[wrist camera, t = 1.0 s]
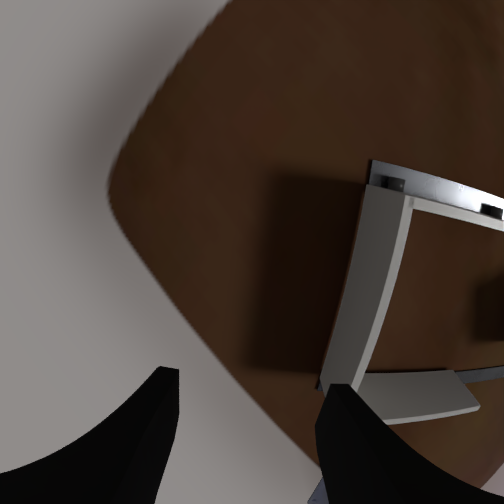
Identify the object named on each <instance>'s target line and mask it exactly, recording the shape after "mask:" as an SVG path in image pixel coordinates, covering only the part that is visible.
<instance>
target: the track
mask: <svg viewBox="0 0 504 504" xmlns="http://www.w3.org/2000/svg"><path fill="white" fill-rule="evenodd" d="M389 176H391V177H396V178H400V179H404V180H406V181H405V187H404V193H409V194H413V195H417V196H421V197H425V198H429V199H433V200H437V201H441V202H444V203H448V204H452V205H456V206H459V207H463V208H466V209H470V210H473V211H477V212H480V213H483V214H487V215H490V213H491V208H492V206H496V207H499V208H502V209H504V199H502V198H499V197H496V196H494V195H491V194H488V193H485V192H482V191H480V190H477V189H474V188H471V187H468V186H465V185H462V184H459V183H456V182H452V181H449V180H446V179H443V178H439V177H436V176H433V175H429V174H426V173H422V172H419V171H415V170H411V169H408V168H404V167H400V166H396V165H392V164H388V163H384V162H380V161H376V160H372V162H371V169H370V175H369V181H368V185H373V186H378V187H382V188H388V182H389ZM502 219H503V220H504V211H503V216H502ZM454 372H455V373H456V374H457V376H458V377H459V378H460V379H461V381H462V382H463V383H472V382H478V381H485V380H491V379H497V378H502V377H504V365H503V366H496V367H489V368H481V369H472V370H463V371H454ZM317 391H323V388H322V385H321V381H320V382H319V385H318V388H317Z"/></svg>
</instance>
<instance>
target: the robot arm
mask: <svg viewBox="0 0 504 504" xmlns="http://www.w3.org/2000/svg"><path fill="white" fill-rule="evenodd" d="M178 418H179V369H174V368H168V367H162V366H160V367H158V368H156V370H155V371H154V372H153V373H152V374H151V376H149V378H148V379H147V380H146V381H145V382H144V383H143V384H142V385H141V386H140V387H139V388H138V389H137V390H136V391H135V392H134V393H133V394H132V396H130V397H129V398H128V399H127V400H126V401H125V402H124V403H123V404H122V405H121V406H120V407H119V408H118V409H116V410H115V411H114V412H113V413H112V414H110V415H109V416H108V417H107V418H106V419H104V420H103V421H102V422H101V423H99V424H98V425H97V426H96V427H94V428H93V429H92V430H90V431H89V432H87V433H86V434H84V435H83V436H81V437H80V438H78V439H77V440H75V441H74V442H72V443H70V444H69V445H67V446H65V447H63V448H62V449H60V450H58V451H56V452H54V453H52V454H51V455H49V456H46V457H44V458H42V459H40V460H37V461H35V462H32V463H30V464H27V465H25V466H22V467H20V468H17V469H14V470H11V471H8V472H4V473H0V504H154V503H155V499H156V495H157V492H158V489H159V486H160V483H161V479H162V476H163V473H164V470H165V467H166V464H167V461H168V458H169V455H170V452H171V448H172V445H173V442H174V439H175V433H176V428H177V422H178ZM315 434H316V446H317V453H318V458H319V462H320V467H321V471H322V475H323V477H322V479H321V480H320V482H319V484H318V486H317V487H316V489H315V490H314V492H313V494H312V495H311V497H310V498H309V500H308V504H504V497H503V496H499V495H496V494H492V493H489V492H487V491H484V490H481V489H479V488H477V487H474V486H472V485H470V484H467V483H465V482H463V481H461V480H459V479H457V478H456V477H454V476H452V475H450V474H448V473H447V472H445V471H443V470H442V469H440V468H439V467H437V466H435V465H434V464H432V463H431V462H430V461H428V460H427V459H426V458H424V457H423V456H421V455H420V454H419V453H417V452H416V451H415V450H414V449H412V448H411V447H410V446H409V445H408V444H407V443H405V442H404V441H403V440H402V439H401V438H400V437H399V436H398V435H397V434H396V433H394V432H393V431H392V430H391V429H390V428H389V427H388V426H387V425H386V424H385V423H384V422H383V421H382V420H381V419H380V418H379V417H378V415H377V414H376V413H375V412H374V411H373V410H372V409H371V408H370V407H369V406H368V405H367V404H366V403H365V401H364V400H363V399H362V398H361V397H360V396H359V395H358V394H357V393H356V392H355V390H354V389H353V388H352V387H351V386H350V385H349V384H332V383H330V386H329V389H328V392H327V395H326V397H325V400H324V403H323V405H322V408H321V411H320V413H319V416H318V418H317V421H316V424H315Z"/></svg>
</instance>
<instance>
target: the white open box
mask: <svg viewBox="0 0 504 504" xmlns="http://www.w3.org/2000/svg"><path fill="white" fill-rule="evenodd" d="M405 181H406V180H404V179H400V178H396V177H391V176H389V182H388V188H387V189H386V188H382V187H377V186H373V185H368V184H366V190H365V196H364V202H363V207H362V212H361V218H360V223H359V228H358V233H357V238H356V242H355V247H354V252H353V256H352V261H351V265H350V269H349V274H348V278H347V282H346V286H345V290H344V294H343V298H342V302H341V306H340V310H339V313H338V317H337V321H336V324H335V328H334V331H333V335H332V339H331V342H330V345H329V349H328V352H327V355H326V359H325V362H324V365H323V368H322V372H321V375H320V381H321V385H322V388H323V392H324V395H325V397H326V395H327V392H328V389H329V386H330V383H332V384H349V385H350V386H351V387H352V388H353V389H354V390H355V392H356V393H357V394H358V395H359V396H360V397H361V398H362V399H363V400H364V401H365V403H366V404H367V405H368V406H369V407H370V408H371V409H372V410H373V411H374V412H375V413H376V414H377V415H378V417H379V418H380V419H381V420H382V421H383V422H384V423H385V424H386V425H388V424H398V423H407V422H415V421H422V420H429V419H436V418H442V417H447V416H453V415H458V414H463V413H468V412H472V411H477V410H478V409H479V407H480V406H481V405H480V404H479V403H478V401H477V400H476V399H475V397H474V396H473V395H472V394H471V392H470V391H469V390H468V388H467V387H466V386H465V385H464V383H463V382H462V381H461V379H460V378H459V377H458V376H457V374H456V373H455V372H454V371H453V370H444V371H429V372H409V373H365V371H366V368H367V366H368V363H369V360H370V358H371V355H372V352H373V350H374V347H375V344H376V341H377V338H378V336H379V333H380V330H381V327H382V324H383V321H384V318H385V315H386V311H387V308H388V305H389V302H390V298H391V295H392V292H393V288H394V285H395V281H396V278H397V274H398V270H399V266H400V263H401V259H402V255H403V251H404V247H405V242H406V238H407V234H408V229H409V225H410V220H411V215H412V210H413V208H414V209H418V210H422V211H427V212H431V213H435V214H440V215H444V216H448V217H452V218H456V219H460V220H464V221H468V222H472V223H475V224H479V225H483V226H486V227H490V228H494V229H497V230H501V231H504V220H502V216H503V211H504V209H502V208H499V207H496V206H492V208H491V213H490V215H486V214H483V213H480V212H476V211H473V210H469V209H466V208H462V207H459V206H455V205H452V204H448V203H444V202H440V201H437V200H433V199H429V198H425V197H421V196H417V195H413V194H408V193H404V187H405Z"/></svg>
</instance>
